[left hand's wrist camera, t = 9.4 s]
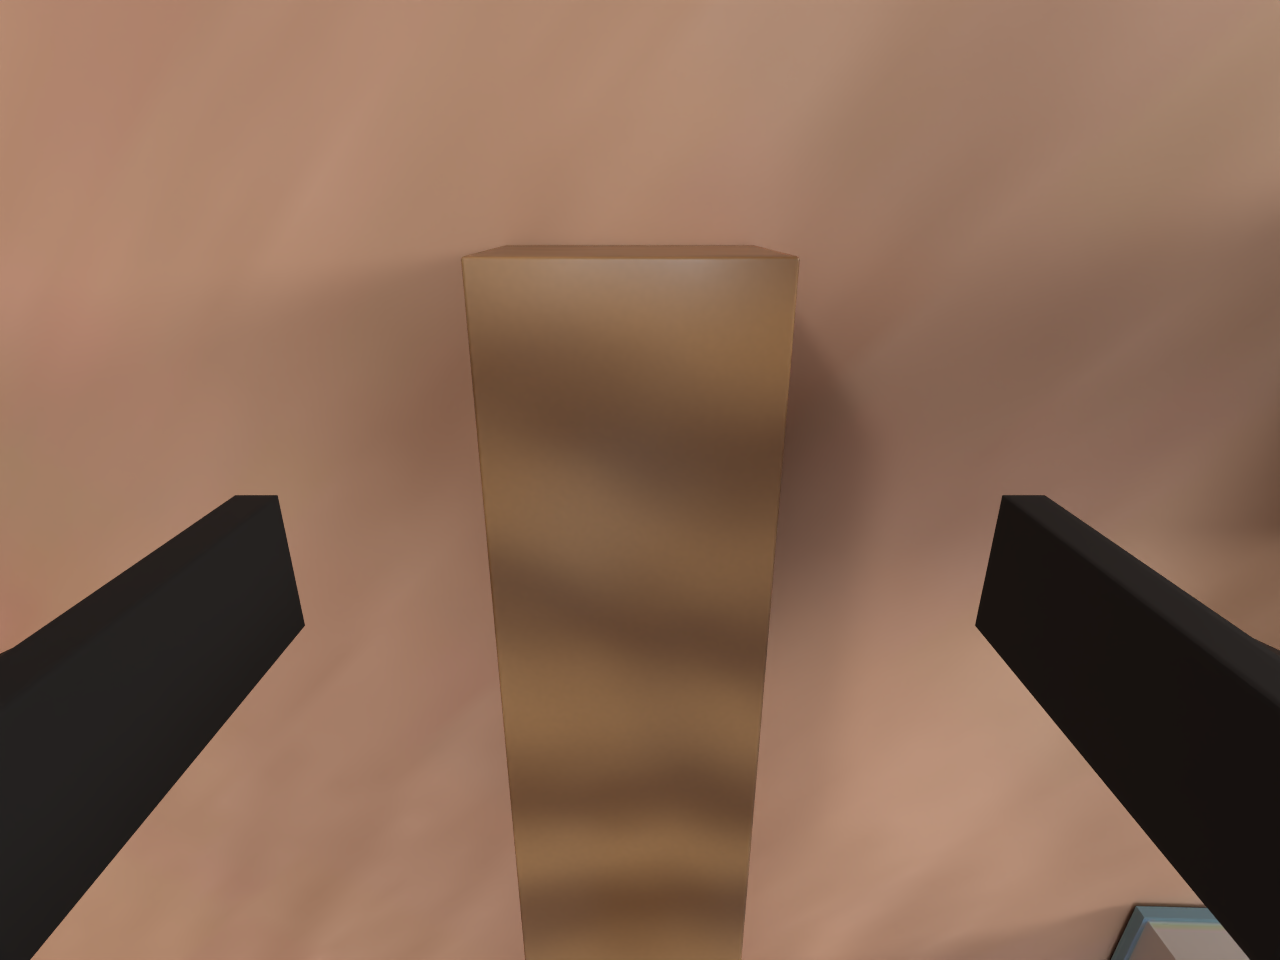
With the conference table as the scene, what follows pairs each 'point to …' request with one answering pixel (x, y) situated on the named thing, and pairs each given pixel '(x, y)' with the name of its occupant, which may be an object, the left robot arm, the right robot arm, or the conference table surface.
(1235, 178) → the conference table surface
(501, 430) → the long wooden beam
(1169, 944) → the book
